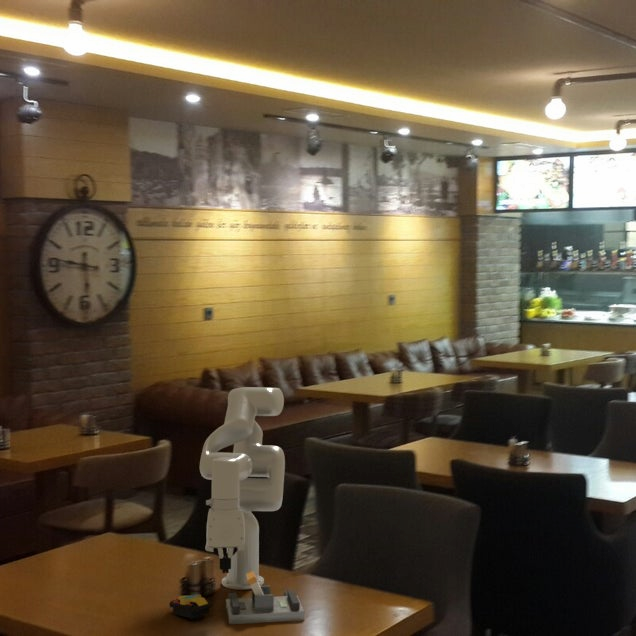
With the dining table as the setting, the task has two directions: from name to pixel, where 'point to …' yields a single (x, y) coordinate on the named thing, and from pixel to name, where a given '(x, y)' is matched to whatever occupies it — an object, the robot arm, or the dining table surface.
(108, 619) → the dining table surface
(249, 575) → the lever
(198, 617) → the black basket
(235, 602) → the pair of grey posts
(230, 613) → the panel
